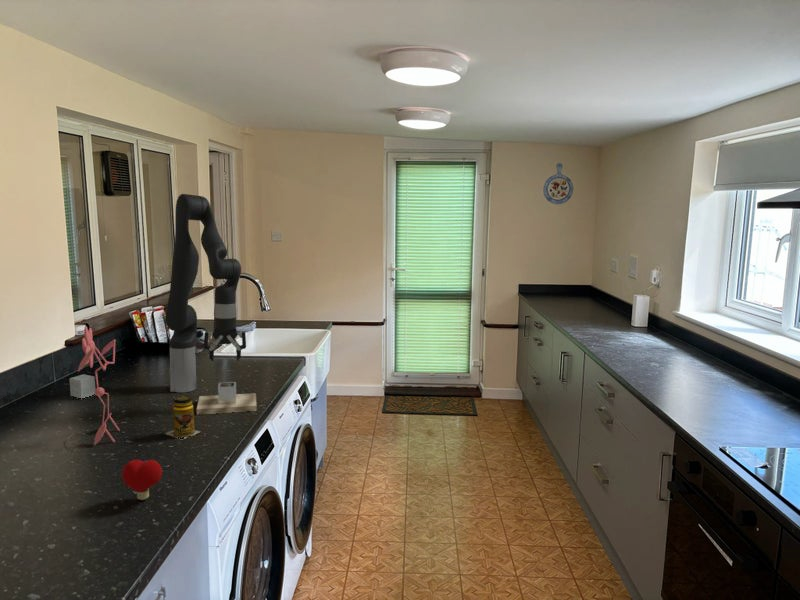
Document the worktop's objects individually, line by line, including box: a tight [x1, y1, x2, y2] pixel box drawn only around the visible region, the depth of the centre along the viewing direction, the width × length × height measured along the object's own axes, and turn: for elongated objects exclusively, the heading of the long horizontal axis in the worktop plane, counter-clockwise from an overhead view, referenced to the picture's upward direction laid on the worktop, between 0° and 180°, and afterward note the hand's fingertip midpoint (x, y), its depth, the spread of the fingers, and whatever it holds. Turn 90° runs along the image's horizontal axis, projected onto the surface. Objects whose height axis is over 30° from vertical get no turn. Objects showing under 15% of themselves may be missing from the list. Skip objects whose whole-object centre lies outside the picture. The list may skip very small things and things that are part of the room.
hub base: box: [196, 384, 258, 416], centre depth 206 cm, size 20×14×8 cm
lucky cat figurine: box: [195, 328, 213, 354], centre depth 281 cm, size 15×12×14 cm
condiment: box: [165, 394, 201, 440], centre depth 181 cm, size 7×8×12 cm
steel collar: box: [217, 381, 237, 404], centre depth 206 cm, size 6×6×6 cm
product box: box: [69, 374, 96, 400], centre depth 213 cm, size 6×6×7 cm
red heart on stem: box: [121, 459, 163, 501], centre depth 140 cm, size 9×7×10 cm
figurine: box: [64, 325, 126, 453], centre depth 173 cm, size 15×26×35 cm, turn 17°
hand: (225, 360), depth 204 cm, fingers open, 8 cm apart
